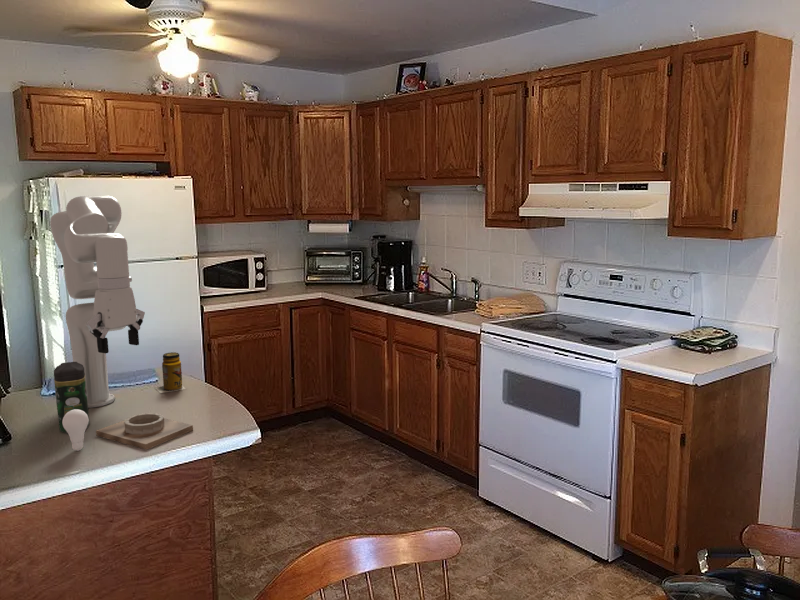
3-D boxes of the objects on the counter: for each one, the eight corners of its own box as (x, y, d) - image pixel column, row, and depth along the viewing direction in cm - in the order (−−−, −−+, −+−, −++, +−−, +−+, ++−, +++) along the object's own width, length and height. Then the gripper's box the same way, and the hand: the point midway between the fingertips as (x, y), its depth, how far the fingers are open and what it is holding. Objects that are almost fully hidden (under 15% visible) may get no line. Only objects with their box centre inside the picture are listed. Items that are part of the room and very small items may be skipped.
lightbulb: (59, 454, 172) (55, 413, 170) (75, 445, 178) (71, 405, 176) (81, 455, 171) (77, 414, 169) (96, 446, 177) (92, 406, 175)
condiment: (186, 389, 226) (184, 354, 223) (160, 393, 221) (157, 358, 219) (180, 384, 232) (177, 350, 229) (154, 388, 227) (152, 353, 225)
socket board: (96, 435, 184) (95, 421, 184) (144, 418, 198) (143, 405, 197) (146, 449, 174) (145, 435, 174) (193, 430, 188) (192, 416, 187)
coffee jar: (59, 424, 193) (53, 361, 190) (89, 420, 196) (84, 358, 193) (58, 435, 184) (52, 370, 181) (89, 430, 188) (84, 366, 185)
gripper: (131, 278, 182) (135, 340, 185) (74, 287, 167) (80, 354, 170) (150, 280, 179) (155, 343, 182) (95, 289, 164) (100, 357, 166)
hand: (119, 348), depth 176 cm, fingers open, 9 cm apart
